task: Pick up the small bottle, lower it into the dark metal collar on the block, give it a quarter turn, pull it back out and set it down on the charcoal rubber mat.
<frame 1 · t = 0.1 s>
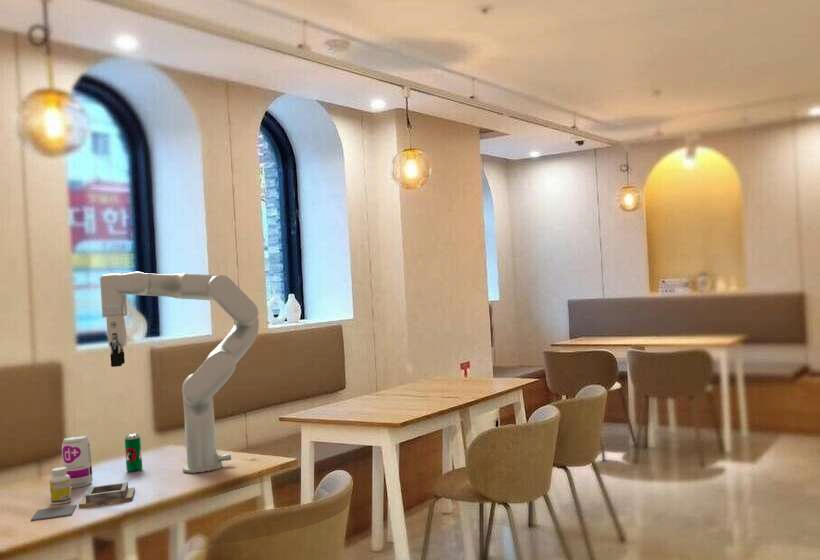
hand: (118, 365, 243), 37 cm above the table, tool pointing down, fingers open, 9 cm apart
soda can: (134, 471, 254), on the table
supplement can: (78, 485, 238), on the table
mat: (54, 513, 207), on the table
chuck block: (107, 499, 219), on the table
supplement bottle: (61, 502, 219), on the table
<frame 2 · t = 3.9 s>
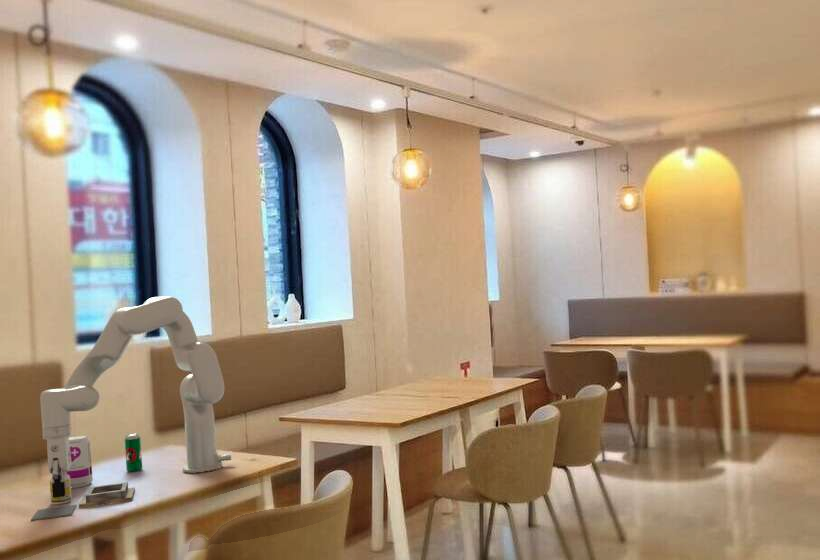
hand: (60, 493, 219), 3 cm above the table, tool pointing down, fingers closed on supplement bottle, 5 cm apart
supplement bottle: (61, 502, 219), on the table, touching gripper
everything else where it was.
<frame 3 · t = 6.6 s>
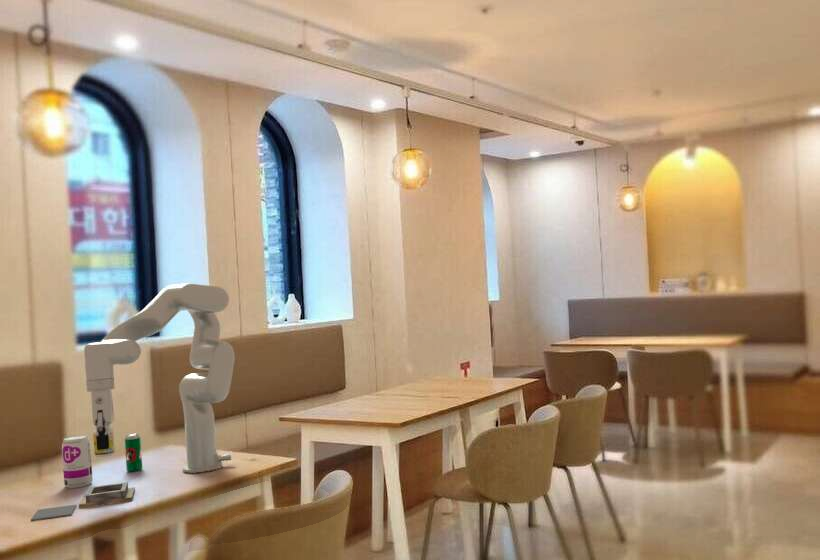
hand: (104, 446, 219), 15 cm above the table, tool pointing down, fingers closed on supplement bottle, 5 cm apart
supplement bottle: (104, 455, 219), point 13 cm above the table, touching gripper
everything else where it was.
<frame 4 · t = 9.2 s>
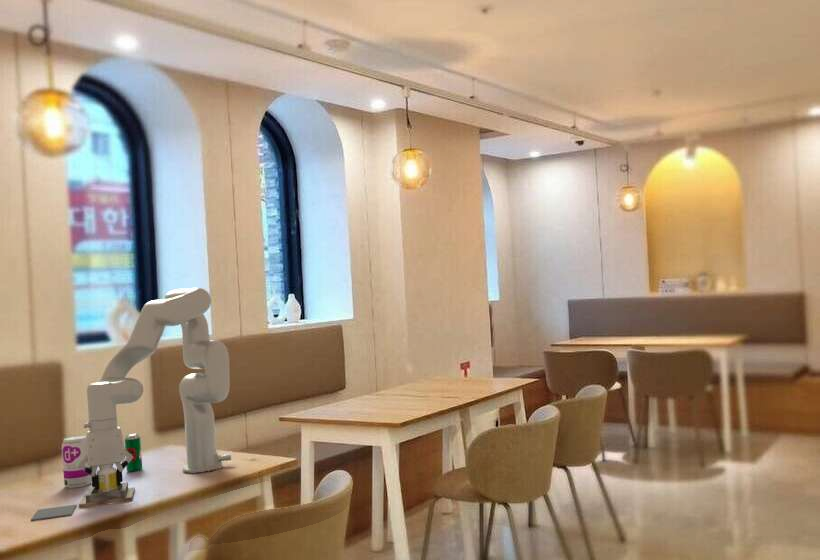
hand: (107, 486, 219), 4 cm above the table, tool pointing down, fingers closed on supplement bottle, 5 cm apart
supplement bottle: (108, 495, 219), point 1 cm above the table, touching gripper
everything else where it was.
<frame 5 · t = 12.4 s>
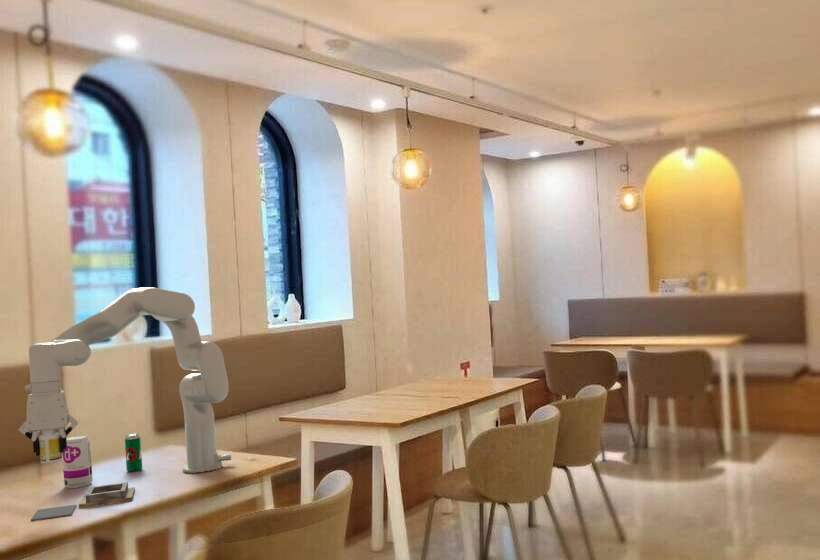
hand: (50, 452, 207), 17 cm above the table, tool pointing down, fingers closed on supplement bottle, 5 cm apart
supplement bottle: (51, 462, 207), point 14 cm above the table, touching gripper
everything else where it was.
when the fingers open (4 cm above the table, at t = 15.0 s): supplement bottle stays where it is, resting on mat.
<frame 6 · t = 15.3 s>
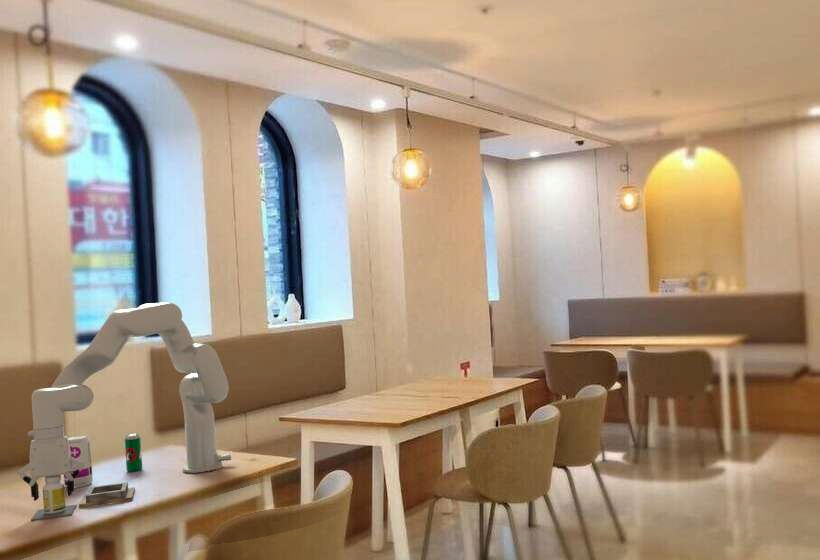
hand: (53, 496, 207), 5 cm above the table, tool pointing down, fingers open, 8 cm apart
supplement bottle: (55, 512, 207), resting on mat
everything else where it was.
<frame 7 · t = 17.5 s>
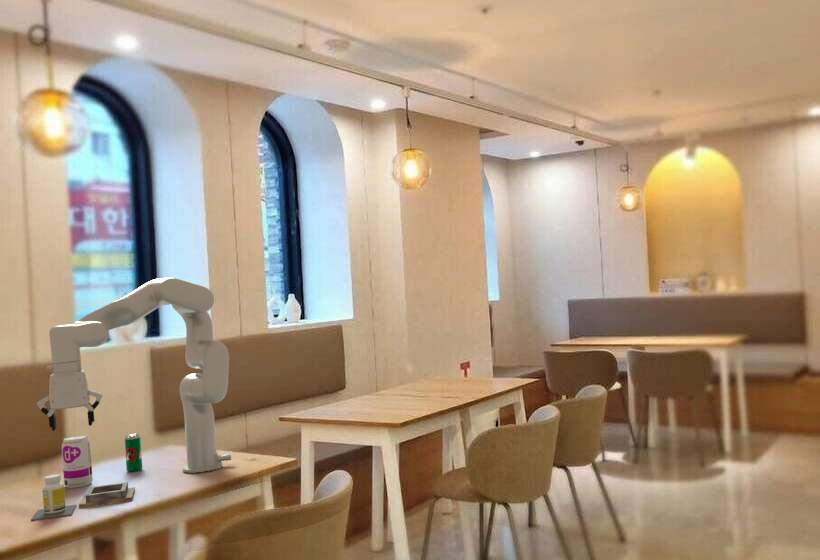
hand: (72, 427, 216), 22 cm above the table, tool pointing down, fingers open, 9 cm apart
nothing on the table moved.
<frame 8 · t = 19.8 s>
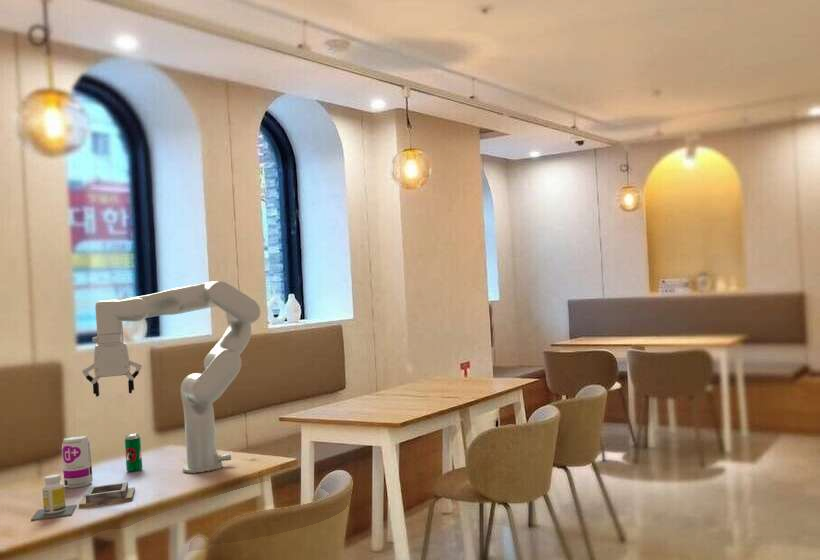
hand: (114, 394, 235), 28 cm above the table, tool pointing down, fingers open, 9 cm apart
nothing on the table moved.
at the end: supplement bottle inside the target area on the mat (0.1 cm from its centre), point 0.2 cm above the mat's base; supplement bottle tilted 0°; the gripper is holding nothing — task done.
